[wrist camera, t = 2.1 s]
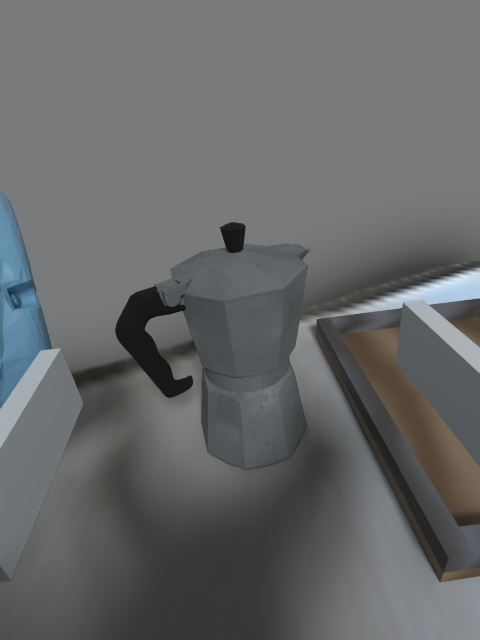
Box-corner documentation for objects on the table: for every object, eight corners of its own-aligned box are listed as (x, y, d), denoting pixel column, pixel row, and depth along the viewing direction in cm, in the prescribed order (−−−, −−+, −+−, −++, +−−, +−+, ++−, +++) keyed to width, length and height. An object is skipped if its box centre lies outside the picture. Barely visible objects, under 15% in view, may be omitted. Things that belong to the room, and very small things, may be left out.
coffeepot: (275, 370, 39) (265, 194, 30) (346, 419, 32) (361, 211, 23) (138, 446, 32) (71, 244, 23) (193, 531, 25) (128, 290, 16)
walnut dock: (440, 581, 21) (448, 558, 20) (316, 337, 44) (316, 319, 42) (771, 531, 22) (800, 505, 20) (481, 316, 44) (486, 297, 43)
